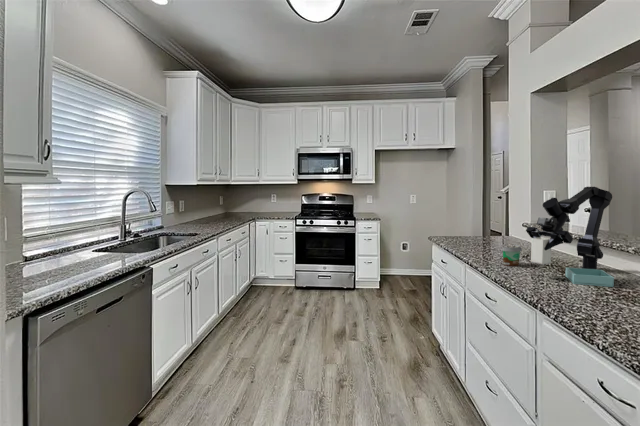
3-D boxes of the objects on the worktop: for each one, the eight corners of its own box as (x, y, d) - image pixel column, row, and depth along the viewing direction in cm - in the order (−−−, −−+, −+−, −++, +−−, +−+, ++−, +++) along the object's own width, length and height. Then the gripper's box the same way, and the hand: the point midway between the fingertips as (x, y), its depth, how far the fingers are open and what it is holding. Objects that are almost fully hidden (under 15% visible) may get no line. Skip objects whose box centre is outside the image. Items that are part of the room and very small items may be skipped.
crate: (565, 275, 161) (565, 267, 161) (601, 278, 156) (602, 269, 155) (573, 283, 148) (573, 274, 148) (613, 286, 143) (613, 277, 143)
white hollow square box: (530, 262, 160) (531, 238, 159) (538, 260, 162) (539, 237, 161) (542, 264, 155) (543, 240, 154) (550, 263, 157) (551, 239, 156)
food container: (513, 268, 177) (514, 248, 176) (501, 265, 182) (502, 246, 182) (526, 264, 184) (526, 245, 183) (514, 262, 189) (514, 244, 188)
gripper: (529, 209, 167) (511, 234, 163) (569, 212, 149) (551, 239, 146) (540, 225, 170) (523, 249, 167) (580, 229, 153) (563, 256, 150)
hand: (538, 248), depth 157 cm, fingers closed on white hollow square box, 5 cm apart
